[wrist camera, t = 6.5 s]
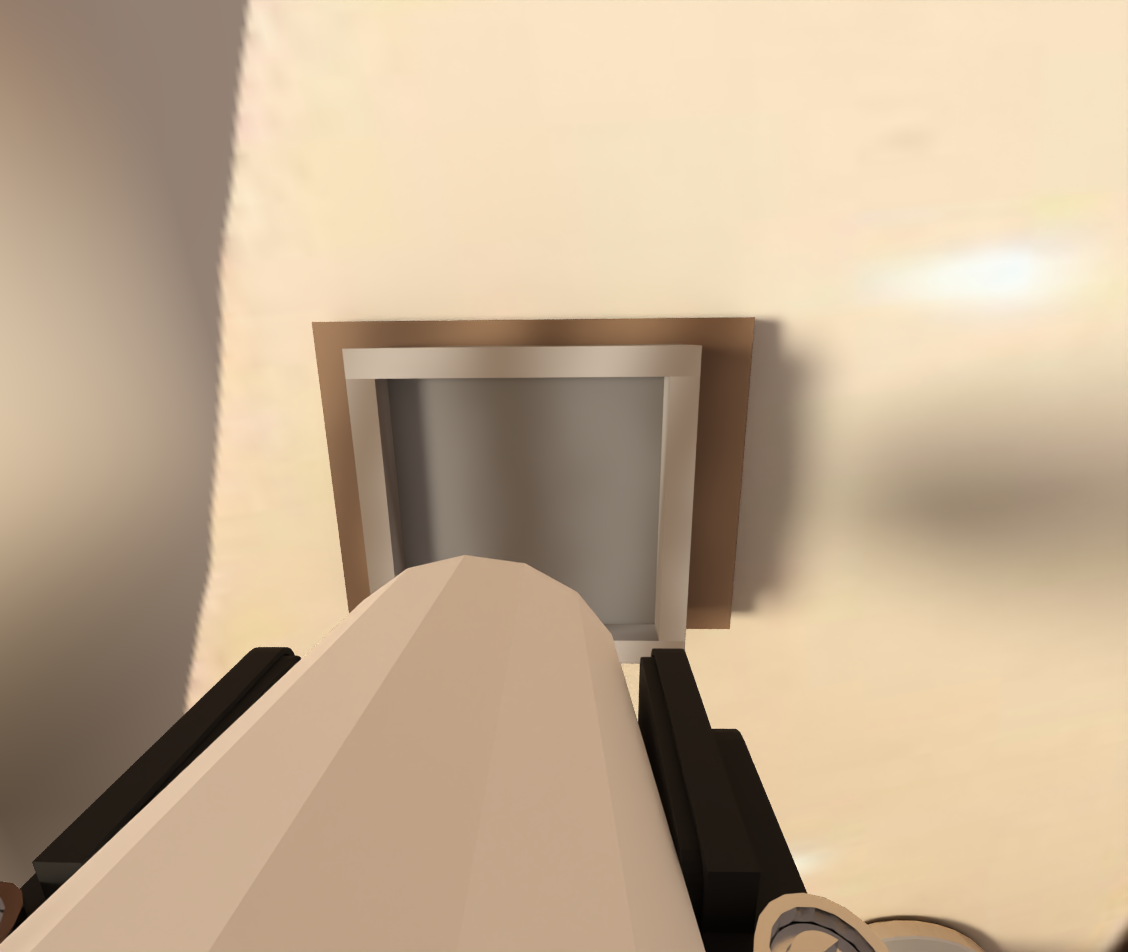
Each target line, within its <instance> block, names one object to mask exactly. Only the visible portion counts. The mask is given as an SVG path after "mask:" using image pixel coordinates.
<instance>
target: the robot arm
mask: <svg viewBox="0 0 1128 952" xmlns="http://www.w3.org/2000/svg"><path fill="white" fill-rule="evenodd" d="M300 660H301V657H299V656H295V655H294V652H293V651H292V650H291V649H290V648H288V647H258V648H254V649H252V650H251V651H250V652H249V653H248V654H247V655H245V656H244V657H243V658H242V659H241V660H240V661H239V662H238V663H237V664H236V665H235V666H234V667H233V668H232V669H231V670H230V671H229V672H228V673H227V674H226V675H225V676H224V677H223V678H222V679H221V680H220V681H219V682H218V683H217V684H216V685H215V686H213V687H212V688H211V689H210V690H209V691H208V692H207V693H206V694H205V695H204V696H203V697H202V698H201V699H200V700H199V701H198V702H197V703H196V704H195V705H194V706H193V707H192V708H191V709H190V710H189V711H188V712H187V713H186V714H185V715H184V716H183V717H181V718H180V719H179V720H178V721H177V722H176V723H175V724H174V725H173V726H172V727H171V728H170V729H169V730H168V731H167V732H166V733H165V734H164V735H163V736H162V737H161V738H160V739H159V740H158V741H157V742H156V743H155V744H154V745H153V746H152V747H151V748H150V749H149V750H147V751H146V752H145V753H144V754H143V755H142V756H141V757H140V758H139V759H138V760H137V761H136V762H135V763H134V764H133V765H132V766H131V767H130V768H129V769H128V770H127V771H126V772H125V773H124V774H123V775H122V776H121V777H120V778H119V779H118V780H116V781H115V782H114V783H113V784H112V785H111V786H110V787H109V788H108V789H107V790H106V791H105V792H104V793H103V794H102V795H101V796H100V797H99V798H98V799H97V800H96V801H95V802H94V803H93V804H92V805H91V806H90V807H89V808H88V809H86V810H85V811H84V813H82V814H81V815H80V816H79V817H78V818H77V819H76V820H75V821H74V822H73V823H72V824H71V825H70V826H69V827H68V828H67V829H66V830H65V831H64V832H63V833H62V834H61V835H60V836H59V837H58V838H57V839H56V840H54V841H53V842H52V843H51V844H50V845H49V846H48V847H47V848H46V849H45V850H44V851H43V852H42V853H41V854H40V855H39V856H38V857H37V858H36V859H35V860H34V861H33V862H32V863H33V866H34V869H35V871H36V873H35V874H34V875H33V876H32V877H31V878H30V879H29V881H27V882H26V883H25V884H24V885H23V886H22V887H21V888H18V887H17V886H16V885H15V884H14V883H10V882H3V881H0V944H1V943H2V942H3V941H4V940H5V939H6V938H7V937H8V936H9V935H10V934H11V933H12V932H13V931H15V930H16V929H17V928H18V927H19V926H20V925H21V924H22V923H23V922H24V921H25V920H26V919H27V918H28V917H29V916H30V915H31V914H32V913H34V912H35V911H36V910H37V909H38V908H39V907H40V906H41V905H42V904H43V903H44V902H45V901H46V900H47V899H48V898H49V897H50V896H51V895H53V894H54V893H55V892H56V891H57V890H58V889H59V888H60V887H61V886H62V885H63V884H64V883H65V882H66V881H67V880H68V879H69V878H70V877H72V876H73V875H74V874H75V873H76V872H77V871H78V870H79V869H80V868H81V867H82V866H83V865H84V864H85V863H86V862H87V861H88V860H89V859H91V858H92V857H93V856H94V855H95V854H96V853H97V852H98V851H99V850H100V849H101V848H102V847H103V846H104V845H105V844H106V843H107V842H109V841H110V840H111V839H112V838H113V837H114V836H115V835H116V834H117V833H118V832H119V831H120V830H121V829H122V828H123V827H124V826H125V825H126V824H128V823H129V822H130V821H131V820H132V819H133V818H134V817H135V816H136V815H137V814H138V813H139V812H140V811H141V810H142V809H143V808H144V807H145V806H147V805H148V804H149V803H150V802H151V801H152V800H153V799H154V798H155V797H156V796H157V795H158V794H159V793H160V792H161V791H162V790H163V789H164V788H166V787H167V786H168V785H169V784H170V783H171V782H172V781H173V780H174V779H175V778H176V777H177V776H178V775H179V774H180V773H181V772H182V771H183V770H185V769H186V768H187V767H188V766H189V765H190V764H191V763H192V762H193V761H194V760H195V759H196V758H197V757H198V756H199V755H200V754H201V753H203V752H204V751H205V750H206V749H207V748H208V747H209V746H210V745H211V744H212V743H213V742H214V741H215V740H216V739H217V738H218V737H219V736H220V735H222V734H223V733H224V732H225V731H226V730H227V729H228V728H229V727H230V726H231V725H232V724H233V723H234V722H235V721H236V720H237V719H238V718H239V717H241V716H242V715H243V714H244V713H245V712H246V711H247V710H248V709H249V708H250V707H251V706H252V705H253V704H254V703H255V702H256V701H257V700H258V699H260V698H261V697H262V696H263V695H264V694H265V693H266V692H267V691H268V690H269V689H270V688H271V687H272V686H273V685H274V684H275V683H276V682H277V681H279V680H280V679H281V678H282V677H283V676H284V675H285V674H286V673H287V672H288V671H289V670H290V669H291V668H292V667H293V666H294V665H295V664H296V663H298V662H299V661H300ZM638 725H639V728H640V731H641V735H642V738H643V742H644V745H645V748H646V752H647V755H648V759H649V762H650V765H651V769H652V772H653V776H654V779H655V782H656V786H657V789H658V792H659V796H660V799H661V803H662V806H663V809H664V813H665V816H666V820H667V823H668V826H669V830H670V833H671V837H672V840H673V843H674V847H675V850H676V853H677V857H678V860H679V864H680V867H681V870H682V874H683V877H684V881H685V884H686V887H687V891H688V894H689V898H690V901H691V904H692V908H693V911H694V914H695V918H696V921H697V925H698V928H699V931H700V935H701V938H702V942H703V945H704V948H705V952H985V951H984V950H983V949H982V948H981V947H980V946H979V945H977V944H976V943H975V942H974V941H973V940H972V939H970V938H968V937H966V936H965V935H963V934H961V933H959V932H957V931H956V930H953V929H950V928H947V927H944V926H941V925H938V924H934V923H928V922H922V921H915V920H892V921H884V922H875V923H871V924H866V923H865V922H864V921H862V920H861V919H860V918H858V917H857V916H856V915H854V914H853V913H852V912H851V911H849V910H848V909H847V908H845V907H843V906H841V905H839V904H837V903H835V902H833V901H831V900H829V899H827V898H824V897H820V896H816V895H811V894H807V892H806V889H805V887H804V884H803V882H802V880H801V877H800V875H799V872H798V870H797V867H796V865H795V863H794V860H793V858H792V855H791V853H790V850H789V848H788V846H787V843H786V841H785V838H784V836H783V833H782V831H781V829H780V826H779V824H778V821H777V819H776V816H775V814H774V812H773V809H772V807H771V804H770V802H769V799H768V797H767V795H766V792H765V790H764V787H763V785H762V782H761V780H760V778H759V775H758V773H757V770H756V768H755V765H754V763H753V761H752V758H751V756H750V753H749V751H748V748H747V746H746V744H745V741H744V739H743V737H742V735H741V733H740V732H739V731H738V730H737V729H711V726H710V723H709V720H708V717H707V714H706V711H705V708H704V705H703V702H702V699H701V697H700V694H699V691H698V688H697V685H696V682H695V679H694V676H693V673H692V670H691V667H690V664H689V661H688V658H687V656H686V653H685V650H684V649H683V648H653V649H652V651H651V657H641V658H640V677H639V711H638Z"/></svg>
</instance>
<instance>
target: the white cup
mask: <svg viewBox="0 0 1128 952" xmlns="http://www.w3.org/2000/svg"><path fill="white" fill-rule="evenodd" d="M0 952H705V948H704V945H703V942H702V938H701V935H700V931H699V928H698V925H697V921H696V918H695V914H694V911H693V908H692V904H691V901H690V898H689V894H688V891H687V887H686V884H685V881H684V877H683V874H682V870H681V867H680V864H679V860H678V857H677V853H676V850H675V847H674V843H673V840H672V837H671V833H670V830H669V826H668V823H667V820H666V816H665V813H664V809H663V806H662V803H661V799H660V796H659V792H658V789H657V786H656V782H655V779H654V776H653V772H652V769H651V765H650V762H649V759H648V755H647V752H646V748H645V745H644V742H643V738H642V735H641V731H640V728H639V725H638V721H637V718H636V714H635V711H634V708H633V704H632V701H631V698H630V694H629V691H628V687H627V684H626V681H625V677H624V674H623V670H622V667H621V664H620V660H619V657H618V653H617V650H616V647H615V643H614V640H613V637H612V634H611V633H610V632H609V630H608V629H607V628H606V627H605V626H604V624H603V623H602V622H601V621H600V619H599V618H598V617H597V616H596V614H595V613H594V612H593V611H592V610H591V608H590V607H589V606H588V605H587V603H586V602H585V601H584V600H583V598H582V597H581V596H580V595H579V594H578V592H576V591H575V590H573V589H571V588H569V587H567V586H565V585H564V584H562V583H560V582H558V581H556V580H555V579H553V578H551V577H549V576H547V575H545V574H544V573H542V572H540V571H538V570H536V569H534V568H533V567H531V566H529V565H527V564H525V563H519V562H512V561H505V560H497V559H490V558H483V557H476V556H469V555H463V556H458V557H454V558H450V559H445V560H441V561H437V562H432V563H428V564H424V565H419V566H415V567H411V568H407V569H406V570H404V571H403V572H402V573H400V574H399V575H397V576H396V577H395V578H393V579H392V580H391V581H389V582H388V583H386V584H385V585H384V586H382V587H381V588H380V589H378V590H377V591H375V592H374V593H373V594H371V595H370V596H369V597H367V598H366V599H364V600H363V601H362V602H361V603H360V604H359V605H358V606H357V607H356V608H355V609H354V610H352V611H351V612H350V613H349V614H348V615H347V616H346V617H345V618H344V619H343V620H342V621H341V622H340V623H339V624H338V625H337V626H336V627H335V628H333V629H332V630H331V631H330V632H329V633H328V634H327V635H326V636H325V637H324V638H323V639H322V640H321V641H320V642H319V643H318V644H317V645H316V646H314V647H313V648H312V649H311V650H310V651H309V652H308V653H307V654H306V655H305V656H304V657H303V658H302V659H301V660H300V661H299V662H298V663H296V664H295V665H294V666H293V667H292V668H291V669H290V670H289V671H288V672H287V673H286V674H285V675H284V676H283V677H282V678H281V679H280V680H279V681H277V682H276V683H275V684H274V685H273V686H272V687H271V688H270V689H269V690H268V691H267V692H266V693H265V694H264V695H263V696H262V697H261V698H260V699H258V700H257V701H256V702H255V703H254V704H253V705H252V706H251V707H250V708H249V709H248V710H247V711H246V712H245V713H244V714H243V715H242V716H241V717H239V718H238V719H237V720H236V721H235V722H234V723H233V724H232V725H231V726H230V727H229V728H228V729H227V730H226V731H225V732H224V733H223V734H222V735H220V736H219V737H218V738H217V739H216V740H215V741H214V742H213V743H212V744H211V745H210V746H209V747H208V748H207V749H206V750H205V751H204V752H203V753H201V754H200V755H199V756H198V757H197V758H196V759H195V760H194V761H193V762H192V763H191V764H190V765H189V766H188V767H187V768H186V769H185V770H183V771H182V772H181V773H180V774H179V775H178V776H177V777H176V778H175V779H174V780H173V781H172V782H171V783H170V784H169V785H168V786H167V787H166V788H164V789H163V790H162V791H161V792H160V793H159V794H158V795H157V796H156V797H155V798H154V799H153V800H152V801H151V802H150V803H149V804H148V805H147V806H145V807H144V808H143V809H142V810H141V811H140V812H139V813H138V814H137V815H136V816H135V817H134V818H133V819H132V820H131V821H130V822H129V823H128V824H126V825H125V826H124V827H123V828H122V829H121V830H120V831H119V832H118V833H117V834H116V835H115V836H114V837H113V838H112V839H111V840H110V841H109V842H107V843H106V844H105V845H104V846H103V847H102V848H101V849H100V850H99V851H98V852H97V853H96V854H95V855H94V856H93V857H92V858H91V859H89V860H88V861H87V862H86V863H85V864H84V865H83V866H82V867H81V868H80V869H79V870H78V871H77V872H76V873H75V874H74V875H73V876H72V877H70V878H69V879H68V880H67V881H66V882H65V883H64V884H63V885H62V886H61V887H60V888H59V889H58V890H57V891H56V892H55V893H54V894H53V895H51V896H50V897H49V898H48V899H47V900H46V901H45V902H44V903H43V904H42V905H41V906H40V907H39V908H38V909H37V910H36V911H35V912H34V913H32V914H31V915H30V916H29V917H28V918H27V919H26V920H25V921H24V922H23V923H22V924H21V925H20V926H19V927H18V928H17V929H16V930H15V931H13V932H12V933H11V934H10V935H9V936H8V937H7V938H6V939H5V940H4V941H3V942H2V943H1V944H0Z"/></svg>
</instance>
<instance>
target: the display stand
mask: <svg viewBox="0 0 1128 952" xmlns="http://www.w3.org/2000/svg"><path fill="white" fill-rule="evenodd" d="M754 322H755V317H751V318H657V319H563V320H470V321H376V322H312V328H313V335H314V343H315V351H316V359H317V367H318V374H319V382H320V390H321V398H322V406H323V413H324V421H325V429H326V437H327V445H328V452H329V460H330V468H331V476H332V484H333V491H334V499H335V507H336V515H337V523H338V530H339V538H340V546H341V554H342V562H343V569H344V577H345V585H346V593H347V601H348V608H349V613H350V612H351V611H352V610H354V609H355V608H356V607H357V606H358V605H359V604H360V603H361V602H362V601H363V600H364V599H366V598H367V597H369V596H370V595H371V594H373V593H374V592H375V591H377V590H378V589H380V588H381V587H382V586H384V585H385V584H386V583H388V582H389V581H391V580H392V579H393V578H395V577H396V576H397V575H399V574H400V573H402V572H403V571H404V570H406V569H407V568H411V567H415V566H419V565H424V564H428V563H432V562H437V561H441V560H445V559H450V558H454V557H458V556H463V555H469V556H476V557H483V558H490V559H497V560H505V561H512V562H519V563H525V564H527V565H529V566H531V567H533V568H534V569H536V570H538V571H540V572H542V573H544V574H545V575H547V576H549V577H551V578H553V579H555V580H556V581H558V582H560V583H562V584H564V585H565V586H567V587H569V588H571V589H573V590H575V591H576V592H578V594H579V595H580V596H581V597H582V598H583V600H584V601H585V602H586V603H587V605H588V606H589V607H590V608H591V610H592V611H593V612H594V613H595V614H596V616H597V617H598V618H599V619H600V621H601V622H602V623H603V624H604V626H605V627H606V628H607V629H608V630H609V632H610V633H611V634H612V637H613V640H614V643H615V647H616V650H617V653H618V657H619V660H620V663H629V664H640V658H641V657H651V651H652V649H653V648H683V649H684V650H685V636H686V629H730V618H731V606H732V594H733V581H734V569H735V557H736V544H737V532H738V520H739V507H740V495H741V483H742V470H743V458H744V446H745V433H746V421H747V409H748V396H749V384H750V372H751V359H752V347H753V335H754Z"/></svg>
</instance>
